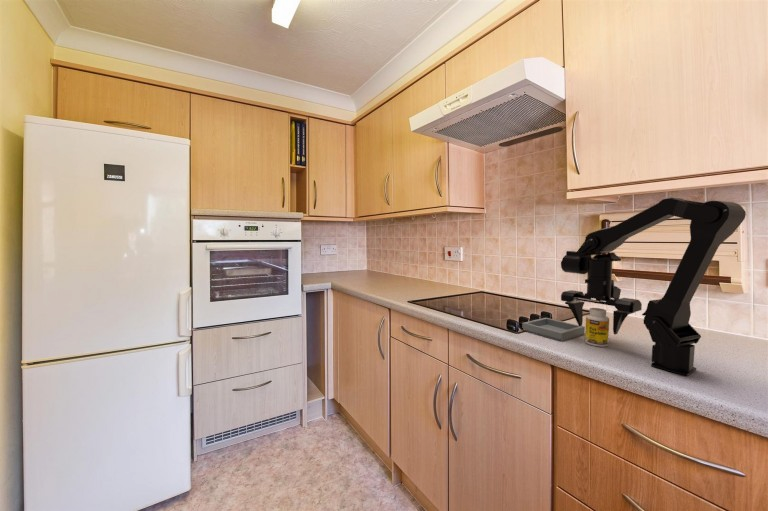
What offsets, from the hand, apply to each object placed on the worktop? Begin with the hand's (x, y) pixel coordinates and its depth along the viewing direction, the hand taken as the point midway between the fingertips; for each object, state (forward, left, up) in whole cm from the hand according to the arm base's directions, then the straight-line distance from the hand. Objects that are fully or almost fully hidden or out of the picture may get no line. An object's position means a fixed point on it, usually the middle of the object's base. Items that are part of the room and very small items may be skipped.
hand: (597, 329), depth 91 cm
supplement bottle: (0, 0, -4) cm, 4 cm away
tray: (+13, 0, -4) cm, 14 cm away
